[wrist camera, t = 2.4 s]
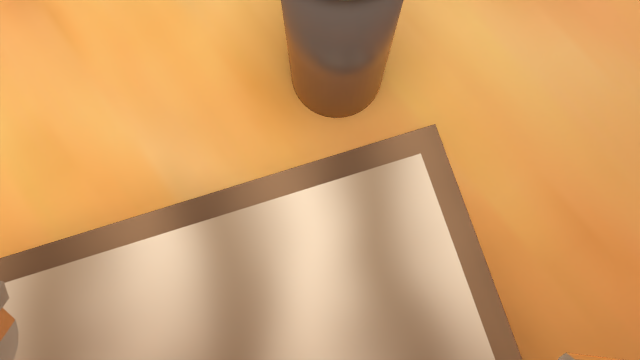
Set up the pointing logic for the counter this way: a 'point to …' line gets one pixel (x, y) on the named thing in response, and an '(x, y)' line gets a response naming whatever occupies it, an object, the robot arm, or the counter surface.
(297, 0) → the marker
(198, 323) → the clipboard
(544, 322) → the counter surface
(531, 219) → the counter surface
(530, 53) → the counter surface
